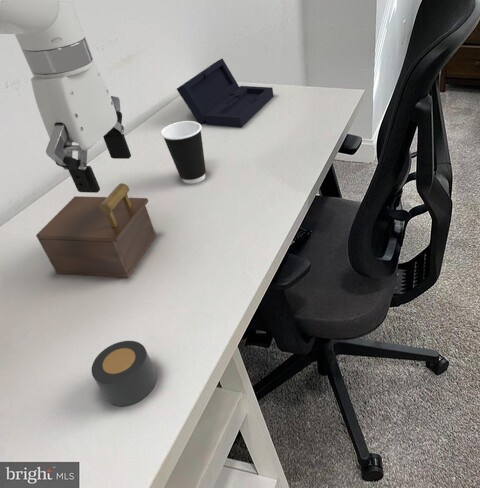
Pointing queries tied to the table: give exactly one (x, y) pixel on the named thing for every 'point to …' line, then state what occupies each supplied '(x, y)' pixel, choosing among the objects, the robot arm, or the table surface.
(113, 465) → the table surface
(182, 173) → the dixie cup
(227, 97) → the storage box
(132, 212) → the lid
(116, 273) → the chest
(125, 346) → the tape
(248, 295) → the table surface
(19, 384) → the table surface
